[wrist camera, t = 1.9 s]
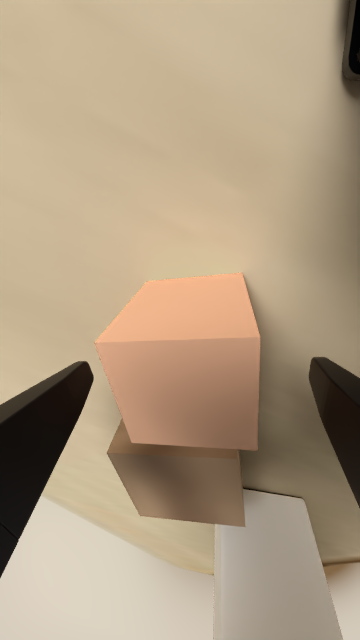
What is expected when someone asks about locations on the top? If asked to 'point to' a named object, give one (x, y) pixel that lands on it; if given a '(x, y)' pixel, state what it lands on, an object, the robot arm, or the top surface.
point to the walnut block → (180, 480)
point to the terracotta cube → (186, 363)
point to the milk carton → (271, 575)
